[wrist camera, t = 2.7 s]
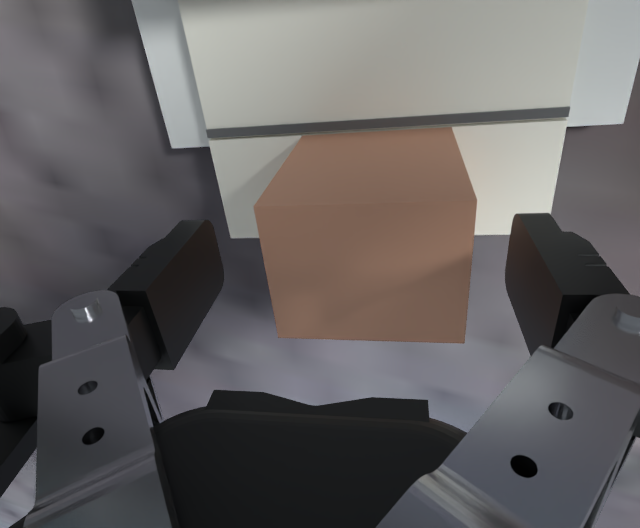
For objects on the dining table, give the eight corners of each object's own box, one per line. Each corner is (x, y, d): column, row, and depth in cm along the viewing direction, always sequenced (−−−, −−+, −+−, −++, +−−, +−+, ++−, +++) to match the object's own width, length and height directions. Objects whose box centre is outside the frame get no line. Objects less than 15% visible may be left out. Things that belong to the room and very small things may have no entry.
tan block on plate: (559, 114, 14) (662, 195, 9) (541, 224, 16) (614, 348, 11) (216, 134, 17) (119, 210, 11) (237, 229, 19) (164, 334, 13)
